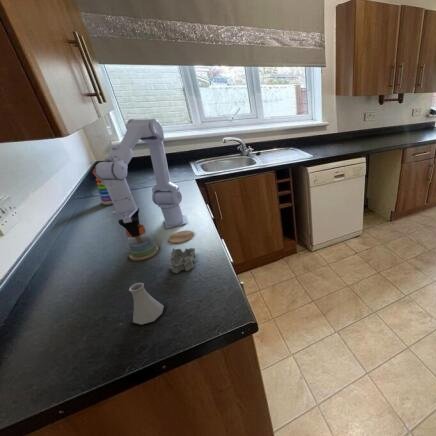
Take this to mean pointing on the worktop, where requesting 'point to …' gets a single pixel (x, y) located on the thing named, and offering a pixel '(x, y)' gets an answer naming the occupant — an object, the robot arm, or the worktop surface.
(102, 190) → the stacking toy
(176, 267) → the egg carton
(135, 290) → the flask
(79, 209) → the worktop surface
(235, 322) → the worktop surface
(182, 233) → the cork coaster
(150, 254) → the ring stack
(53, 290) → the worktop surface
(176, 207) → the robot arm
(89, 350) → the worktop surface
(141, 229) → the orange ring
